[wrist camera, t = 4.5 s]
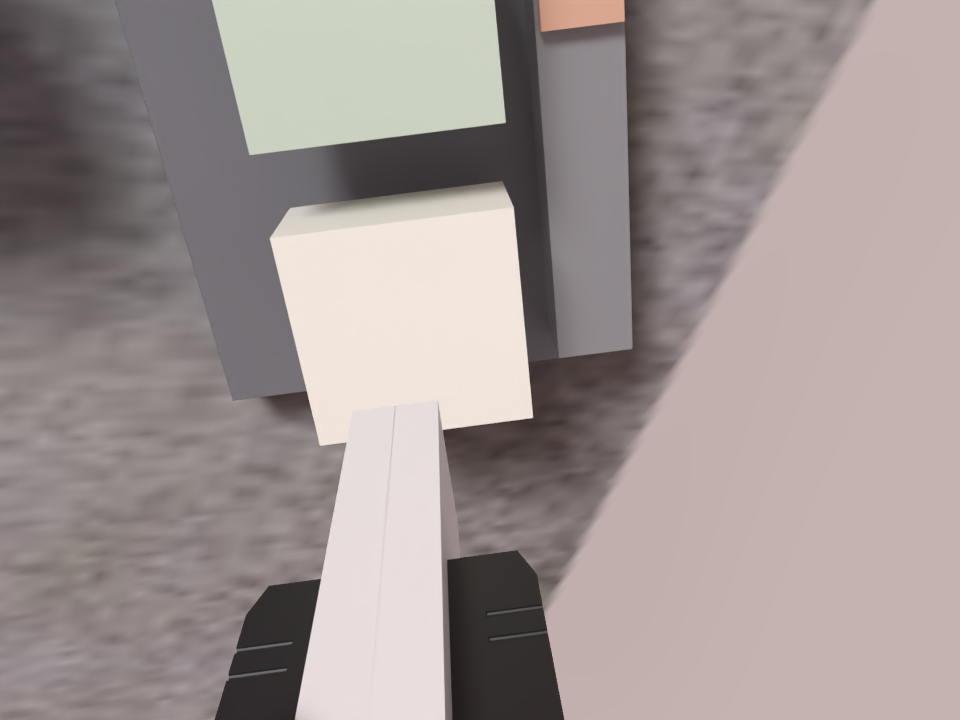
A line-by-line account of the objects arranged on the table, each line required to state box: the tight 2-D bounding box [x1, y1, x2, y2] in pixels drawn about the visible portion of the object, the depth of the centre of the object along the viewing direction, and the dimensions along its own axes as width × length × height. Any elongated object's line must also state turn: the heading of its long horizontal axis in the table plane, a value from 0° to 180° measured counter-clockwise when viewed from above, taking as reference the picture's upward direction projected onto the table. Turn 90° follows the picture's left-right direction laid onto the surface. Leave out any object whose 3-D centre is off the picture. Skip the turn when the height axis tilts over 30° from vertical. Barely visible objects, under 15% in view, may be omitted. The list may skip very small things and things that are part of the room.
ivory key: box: [270, 181, 533, 446], centre depth 21 cm, size 6×6×3 cm
